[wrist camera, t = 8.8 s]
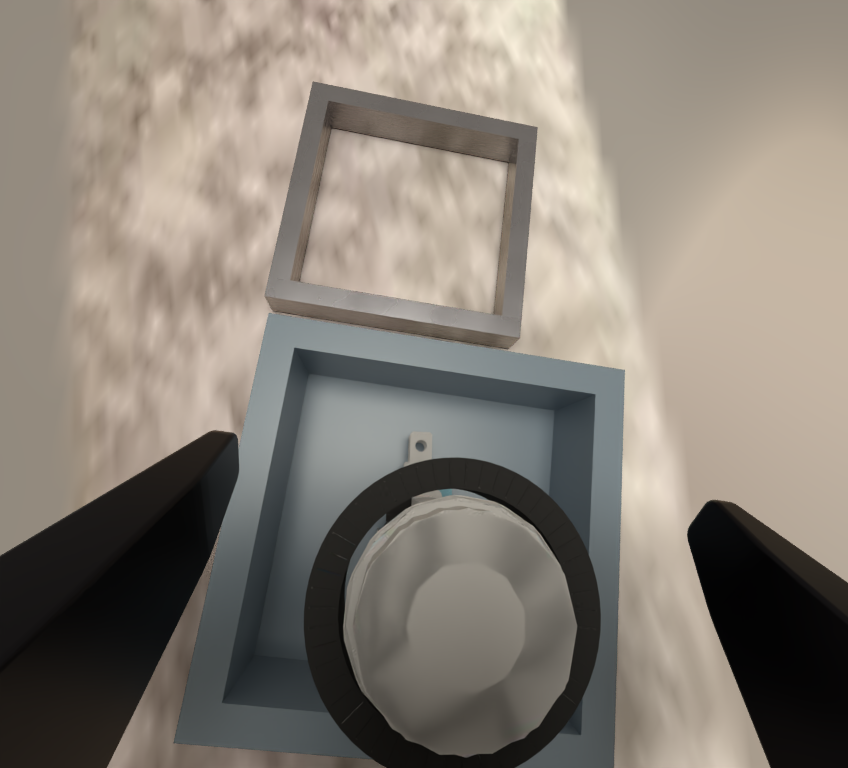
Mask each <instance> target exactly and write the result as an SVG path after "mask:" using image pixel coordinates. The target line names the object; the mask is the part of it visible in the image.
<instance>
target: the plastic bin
mask: <svg viewBox="0 0 848 768" xmlns="http://www.w3.org/2000/svg"><path fill="white" fill-rule="evenodd" d="M624 380H625V370H621V369H615V368H608V367H602V366H596V365H590V364H583V363H577V362H571V361H565V360H559V359H552V358H546V357H540V356H534V355H527V354H521V353H515V352H509V351H502V350H496V349H490V348H484V347H478V346H471V345H465V344H459V343H453V342H446V341H440V340H434V339H428V338H422V337H415V336H409V335H403V334H397V333H390V332H384V331H378V330H372V329H365V328H359V327H353V326H347V325H341V324H334V323H328V322H322V321H316V320H309V319H303V318H297V317H291V316H285V315H278V314H272V313H269V314H268V318H267V323H266V327H265V332H264V337H263V341H262V346H261V350H260V355H259V359H258V364H257V368H256V373H255V377H254V382H253V386H252V391H251V395H250V400H249V404H248V409H247V413H246V418H245V422H244V427H243V431H242V436H241V440H240V445H239V475H238V479H237V482H236V485H235V488H234V491H233V494H232V496H231V499H230V502H229V505H228V508H227V510H226V513H225V516H224V519H223V522H222V526H221V531H220V535H219V540H218V544H217V549H216V553H215V558H214V563H213V567H212V572H211V576H210V581H209V585H208V590H207V594H206V599H205V603H204V608H203V612H202V617H201V621H200V626H199V630H198V635H197V639H196V644H195V648H194V653H193V657H192V662H191V666H190V671H189V675H188V680H187V685H186V689H185V694H184V698H183V703H182V707H181V712H180V716H179V721H178V725H177V730H176V734H175V739H174V743H177V744H189V745H202V746H214V747H226V748H239V749H251V750H263V751H275V752H288V753H300V754H312V755H325V756H337V757H349V758H361V759H372V758H370V757H369V756H367V755H366V754H365V753H364V752H362V751H361V750H360V749H359V748H358V747H357V746H356V745H355V744H353V743H352V742H351V741H350V739H349V738H348V737H347V736H346V735H345V734H344V733H343V732H342V731H341V729H340V728H339V727H338V725H337V724H336V723H335V721H334V720H333V718H332V717H331V716H330V714H329V712H328V710H327V709H326V707H325V705H324V703H323V701H322V700H321V698H320V695H319V693H318V690H317V688H316V686H315V683H314V680H313V677H312V674H311V671H310V667H309V664H308V658H307V653H306V648H305V638H304V606H305V597H306V591H307V586H308V581H309V576H310V573H311V570H312V567H313V564H314V561H315V558H316V556H317V554H318V551H319V549H320V547H321V544H322V542H323V541H324V539H325V537H326V535H327V533H328V532H329V530H330V528H331V527H332V525H333V524H334V523H335V521H336V520H337V518H338V517H339V515H340V514H341V513H342V512H343V511H344V510H345V508H346V507H347V506H348V505H349V504H350V503H351V502H352V501H353V500H354V499H355V498H356V497H357V496H358V495H359V494H360V493H361V492H362V491H364V490H365V489H366V488H368V487H369V486H370V485H371V484H373V483H374V482H376V481H377V480H379V479H381V478H382V477H384V476H385V475H387V474H389V473H391V472H393V471H395V470H398V469H400V468H402V467H404V463H405V462H408V444H409V436H410V434H411V433H412V432H430V433H431V434H432V459H437V458H451V457H460V458H471V459H477V460H482V461H487V462H491V463H494V464H497V465H500V466H503V467H505V468H507V469H510V470H512V471H514V472H516V473H518V474H520V475H521V476H523V477H525V478H527V479H528V480H530V481H531V482H533V483H534V484H535V485H537V486H538V487H539V488H541V489H542V490H543V491H544V492H545V493H546V494H548V495H549V496H550V497H551V498H552V499H553V500H554V501H555V502H556V503H557V504H558V506H559V507H560V508H561V509H562V510H563V511H564V513H565V514H566V515H567V517H568V518H569V519H570V521H571V522H572V523H573V525H574V527H575V528H576V530H577V532H578V533H579V535H580V537H581V539H582V541H583V543H584V545H585V547H586V549H587V551H588V554H589V557H590V560H591V562H592V565H593V568H594V572H595V576H596V580H597V585H598V591H599V597H600V609H601V631H600V640H599V648H598V653H597V658H596V662H595V667H594V670H593V673H592V676H591V679H590V682H589V684H588V687H587V689H586V691H585V693H584V696H583V698H582V700H581V702H580V703H579V705H578V707H577V709H576V710H575V712H574V714H573V715H572V717H571V718H570V719H569V721H568V722H567V724H566V725H565V726H564V728H563V729H562V730H561V731H560V732H559V733H558V735H557V736H556V737H555V738H554V739H553V740H552V741H551V742H550V743H549V744H548V745H547V746H546V747H544V748H543V749H542V750H541V751H540V752H539V753H537V754H536V755H535V756H533V757H532V758H530V759H529V760H528V761H526V762H524V763H523V764H521V765H519V766H517V767H516V768H614V743H615V707H616V670H617V634H618V598H619V561H620V525H621V489H622V452H623V416H624ZM415 447H416V449H417V450H418V451H419V452H423V451H424V445H423V444H422V443H416V444H415ZM452 495H462V496H468V497H473V498H478V499H484V500H488V499H486V498H484V497H482V496H480V495H477V494H475V493H472V492H468V491H464V490H459V489H452ZM489 501H490V500H489ZM385 523H386V514H385V515H384V516H383V517H382V518H380V519H379V520H378V521H377V522H376V523H375V524H374V525H373V526H372V528H371V529H370V530H369V531H368V532H367V533H366V535H365V536H364V538H363V539H362V540H361V542H360V543H359V545H358V546H357V548H356V550H355V552H354V554H353V555H352V557H351V560H350V563H349V567H348V570H347V576H346V582H345V604H346V595H347V586H348V583H349V580H350V577H351V574H352V573H353V571H354V569H355V567H356V565H357V563H358V561H359V560H360V558H361V556H362V554H363V552H364V550H365V548H366V547H367V545H368V543H369V541H370V540H371V539H372V537H373V536H374V535H375V534H376V533H377V528H379V530H380V529H381V528H383V526H384V525H385Z"/></svg>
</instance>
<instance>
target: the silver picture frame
mask: <svg viewBox="0 0 848 768" xmlns="http://www.w3.org/2000/svg"><path fill="white" fill-rule="evenodd" d="M331 127H332V128H337V129H342V130H347V131H352V132H357V133H362V134H367V135H372V136H378V137H383V138H388V139H393V140H398V141H403V142H408V143H413V144H418V145H423V146H428V147H434V148H439V149H444V150H449V151H454V152H459V153H464V154H469V155H474V156H479V157H485V158H490V159H495V160H500V161H505V162H509V165H508V175H507V186H506V196H505V206H504V216H503V226H502V236H501V246H500V256H499V266H498V276H497V286H496V296H495V306H494V314H488V313H482V312H476V311H470V310H465V309H459V308H453V307H447V306H441V305H435V304H429V303H423V302H417V301H411V300H405V299H399V298H393V297H387V296H381V295H375V294H369V293H363V292H357V291H351V290H345V289H339V288H333V287H327V286H321V285H315V284H309V283H303V282H299V280H300V275H301V270H302V265H303V261H304V256H305V251H306V246H307V241H308V237H309V232H310V227H311V222H312V217H313V213H314V208H315V203H316V198H317V193H318V189H319V184H320V179H321V174H322V169H323V165H324V160H325V155H326V150H327V145H328V141H329V136H330V131H331ZM537 128H538V127H533V126H529V125H524V124H519V123H514V122H509V121H504V120H499V119H494V118H489V117H484V116H480V115H475V114H470V113H465V112H460V111H455V110H450V109H445V108H440V107H435V106H431V105H426V104H421V103H416V102H411V101H406V100H401V99H396V98H391V97H386V96H382V95H377V94H372V93H367V92H362V91H357V90H352V89H347V88H342V87H337V86H333V85H328V84H323V83H318V82H313V83H312V88H311V92H310V97H309V101H308V105H307V110H306V114H305V119H304V123H303V128H302V132H301V136H300V141H299V145H298V150H297V154H296V159H295V163H294V167H293V172H292V176H291V181H290V185H289V190H288V194H287V198H286V203H285V207H284V212H283V216H282V221H281V225H280V229H279V234H278V238H277V243H276V247H275V252H274V256H273V261H272V265H271V269H270V274H269V278H268V283H267V287H266V292H265V298H266V300H267V301H268V303H269V305H270V307H271V308H272V310H273V311H278V312H284V313H290V314H296V315H302V316H309V317H315V318H321V319H327V320H333V321H340V322H346V323H352V324H358V325H364V326H371V327H377V328H383V329H389V330H395V331H402V332H408V333H414V334H420V335H427V336H433V337H439V338H445V339H451V340H458V341H464V342H470V343H476V344H482V345H489V346H495V347H501V348H507V349H509V348H510V347H511V346H512V345H513V344H514V343H515V342H516V341H517V340H518V339H519V338H520V330H521V319H522V307H523V295H524V283H525V271H526V259H527V247H528V235H529V223H530V212H531V200H532V188H533V176H534V164H535V152H536V140H537Z"/></svg>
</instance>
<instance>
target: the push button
mask: <svg viewBox="0 0 848 768" xmlns="http://www.w3.org/2000/svg"><path fill="white" fill-rule="evenodd" d="M416 443H422V444H423V445H424V451H423V452H419V451H418V450H417V449H416V447H415V444H416ZM452 489H459V490H464V491H468V492H472V493H475V494H477V495H480V496H482V497H484V498H486V499H488V500H484V499H478V498H473V497H468V496H462V495H452ZM489 500H490V501H489ZM385 514H386V523H385V525H384V526H383V528H381V529H380V530H379V528H377V533H376V534H375V535H374V536H373V537H372V539H371V540H370V541H369V543H368V545H367V547H366V548H365V550H364V552H363V554H362V556H361V558H360V560H359V561H358V563H357V565H356V567H355V569H354V571H353V573H352V574H351V577H350V580H349V583H348V586H347V595H346V604H345V582H346V576H347V570H348V567H349V563H350V560H351V557H352V555H353V554H354V552H355V550H356V548H357V546H358V545H359V543H360V542H361V540H362V539H363V538H364V536H365V535H366V533H367V532H368V531H369V530H370V529H371V528H372V526H373V525H374V524H375V523H376V522H377V521H378V520H379V519H380V518H382V517H383V516H384V515H385ZM600 631H601V609H600V597H599V591H598V585H597V580H596V576H595V572H594V568H593V565H592V562H591V560H590V557H589V554H588V551H587V549H586V547H585V545H584V543H583V541H582V539H581V537H580V535H579V533H578V532H577V530H576V528H575V527H574V525H573V523H572V522H571V521H570V519H569V518H568V517H567V515H566V514H565V513H564V511H563V510H562V509H561V508H560V507H559V506H558V504H557V503H556V502H555V501H554V500H553V499H552V498H551V497H550V496H549V495H548V494H546V493H545V492H544V491H543V490H542V489H541V488H539V487H538V486H537V485H535V484H534V483H533V482H531V481H530V480H528V479H527V478H525V477H523V476H521V475H520V474H518V473H516V472H514V471H512V470H510V469H507V468H505V467H503V466H500V465H497V464H494V463H491V462H487V461H482V460H477V459H471V458H460V457H451V458H437V459H432V434H431V433H430V432H412V433H411V434H410V436H409V444H408V462H405V463H404V467H402V468H400V469H398V470H395V471H393V472H391V473H389V474H387V475H385V476H384V477H382V478H381V479H379V480H377V481H376V482H374V483H373V484H371V485H370V486H369V487H368V488H366V489H365V490H364V491H362V492H361V493H360V494H359V495H358V496H357V497H356V498H355V499H354V500H353V501H352V502H351V503H350V504H349V505H348V506H347V507H346V508H345V510H344V511H343V512H342V513H341V514H340V515H339V517H338V518H337V520H336V521H335V523H334V524H333V525H332V527H331V528H330V530H329V532H328V533H327V535H326V537H325V539H324V541H323V542H322V544H321V547H320V549H319V551H318V554H317V556H316V558H315V561H314V564H313V567H312V570H311V573H310V576H309V581H308V586H307V591H306V597H305V606H304V638H305V648H306V653H307V658H308V664H309V667H310V671H311V674H312V677H313V680H314V683H315V686H316V688H317V690H318V693H319V695H320V698H321V700H322V701H323V703H324V705H325V707H326V709H327V710H328V712H329V714H330V716H331V717H332V718H333V720H334V721H335V723H336V724H337V725H338V727H339V728H340V729H341V731H342V732H343V733H344V734H345V735H346V736H347V737H348V738H349V739H350V741H351V742H352V743H353V744H355V745H356V746H357V747H358V748H359V749H360V750H361V751H362V752H364V753H365V754H366V755H367V756H369V757H370V758H372V759H373V760H375V761H376V762H378V763H379V764H381V765H383V766H385V767H387V768H516V767H517V766H519V765H521V764H523V763H524V762H526V761H528V760H529V759H530V758H532V757H533V756H535V755H536V754H537V753H539V752H540V751H541V750H542V749H543V748H544V747H546V746H547V745H548V744H549V743H550V742H551V741H552V740H553V739H554V738H555V737H556V736H557V735H558V733H559V732H560V731H561V730H562V729H563V728H564V726H565V725H566V724H567V722H568V721H569V719H570V718H571V717H572V715H573V714H574V712H575V710H576V709H577V707H578V705H579V703H580V702H581V700H582V698H583V696H584V693H585V691H586V689H587V687H588V684H589V682H590V679H591V676H592V673H593V670H594V667H595V662H596V658H597V653H598V648H599V640H600Z"/></svg>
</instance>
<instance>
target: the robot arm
mask: <svg viewBox="0 0 848 768" xmlns="http://www.w3.org/2000/svg"><path fill="white" fill-rule="evenodd" d="M238 475H239V450H238V438H237V436H236V435H235V434H234V433H231V432H224V431H217V430H213V431H210V432H208V433H206V434H205V435H203V436H201V437H200V438H198V439H196V440H195V441H193V442H191V443H189V444H188V445H186V446H184V447H183V448H181V449H179V450H178V451H176V452H174V453H173V454H171V455H169V456H168V457H166V458H164V459H162V460H161V461H159V462H157V463H156V464H154V465H152V466H151V467H149V468H147V469H146V470H144V471H142V472H141V473H139V474H137V475H135V476H134V477H132V478H130V479H129V480H127V481H125V482H124V483H122V484H120V485H119V486H117V487H115V488H114V489H112V490H110V491H108V492H107V493H105V494H103V495H102V496H100V497H98V498H97V499H95V500H93V501H92V502H90V503H88V504H87V505H85V506H83V507H81V508H80V509H78V510H76V511H75V512H73V513H71V514H70V515H68V516H66V517H65V518H63V519H61V520H60V521H58V522H56V523H55V524H53V525H51V526H49V527H48V528H46V529H44V530H43V531H41V532H40V533H38V534H36V535H34V536H33V537H31V538H29V539H28V540H26V541H24V542H23V543H21V544H19V545H17V546H16V547H14V548H12V549H11V550H9V551H7V552H6V553H4V554H2V555H1V556H0V768H107V766H108V764H109V762H110V760H111V758H112V756H113V754H114V752H115V750H116V748H117V746H118V744H119V742H120V740H121V738H122V736H123V734H124V732H125V730H126V728H127V726H128V724H129V722H130V719H131V717H132V715H133V713H134V711H135V709H136V707H137V705H138V703H139V701H140V699H141V697H142V695H143V693H144V691H145V689H146V687H147V685H148V683H149V681H150V679H151V677H152V675H153V673H154V671H155V668H156V666H157V664H158V662H159V660H160V658H161V656H162V654H163V652H164V650H165V648H166V646H167V644H168V642H169V640H170V638H171V636H172V634H173V632H174V630H175V628H176V626H177V624H178V622H179V620H180V617H181V615H182V613H183V611H184V609H185V607H186V605H187V603H188V601H189V599H190V597H191V595H192V593H193V591H194V589H195V587H196V585H197V583H198V581H199V579H200V577H201V575H202V573H203V571H204V568H205V566H206V564H207V562H208V560H209V557H210V555H211V552H212V549H213V547H214V544H215V541H216V539H217V536H218V533H219V530H220V527H221V524H222V522H223V519H224V516H225V513H226V510H227V508H228V505H229V502H230V499H231V496H232V494H233V491H234V488H235V485H236V482H237V479H238ZM687 538H688V542H689V546H690V549H691V552H692V556H693V559H694V563H695V566H696V570H697V573H698V576H699V580H700V583H701V587H702V590H703V593H704V597H705V600H706V604H707V607H708V610H709V613H710V616H711V619H712V621H713V624H714V627H715V629H716V632H717V634H718V637H719V639H720V642H721V645H722V647H723V650H724V652H725V655H726V657H727V660H728V662H729V665H730V667H731V670H732V672H733V675H734V677H735V680H736V682H737V685H738V687H739V690H740V692H741V695H742V697H743V700H744V702H745V705H746V707H747V710H748V712H749V715H750V717H751V720H752V722H753V725H754V727H755V730H756V732H757V735H758V737H759V740H760V743H761V745H762V748H763V750H764V753H765V755H766V758H767V760H768V763H769V765H770V767H771V768H848V583H847V582H846V581H844V580H843V579H841V578H840V577H839V576H837V575H836V574H835V573H833V572H832V571H830V570H829V569H827V568H826V567H825V566H823V565H822V564H820V563H819V562H817V561H816V560H815V559H813V558H812V557H810V556H809V555H807V554H806V553H804V552H803V551H802V550H800V549H799V548H797V547H796V546H795V545H793V544H791V543H790V542H789V541H787V540H786V539H785V538H783V537H782V536H780V535H779V534H777V533H776V532H775V531H773V530H772V529H770V528H769V527H767V526H766V525H764V524H763V523H762V522H760V521H759V520H757V519H756V518H755V517H753V516H752V515H750V514H749V513H747V512H746V511H745V510H743V509H742V508H740V507H739V506H738V505H736V504H734V503H731V502H726V501H719V500H710V501H709V502H707V503H706V504H705V505H704V506H703V508H702V509H701V510H700V512H699V513H698V515H697V516H696V518H695V519H694V520H693V522H692V523H691V525H690V526H689V528H688V533H687Z"/></svg>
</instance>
